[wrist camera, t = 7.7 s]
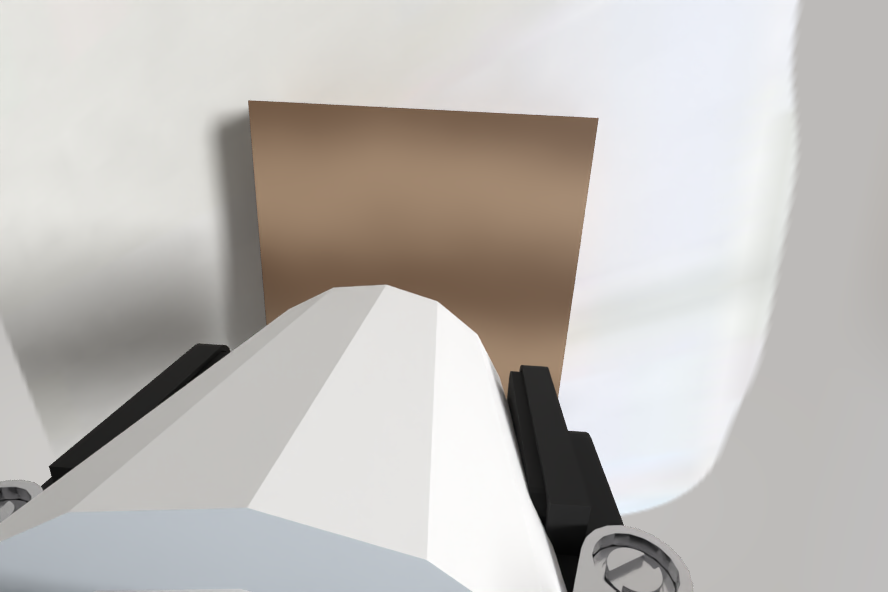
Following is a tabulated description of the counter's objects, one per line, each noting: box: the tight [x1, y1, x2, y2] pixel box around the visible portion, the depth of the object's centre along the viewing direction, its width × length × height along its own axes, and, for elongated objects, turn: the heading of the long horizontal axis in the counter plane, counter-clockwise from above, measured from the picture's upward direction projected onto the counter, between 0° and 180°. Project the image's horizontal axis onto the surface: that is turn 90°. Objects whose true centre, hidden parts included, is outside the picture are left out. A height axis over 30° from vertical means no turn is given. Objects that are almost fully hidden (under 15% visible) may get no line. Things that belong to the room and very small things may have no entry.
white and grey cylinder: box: [0, 285, 567, 592], centre depth 8 cm, size 7×7×7 cm
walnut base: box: [248, 100, 598, 400], centre depth 21 cm, size 12×12×3 cm
